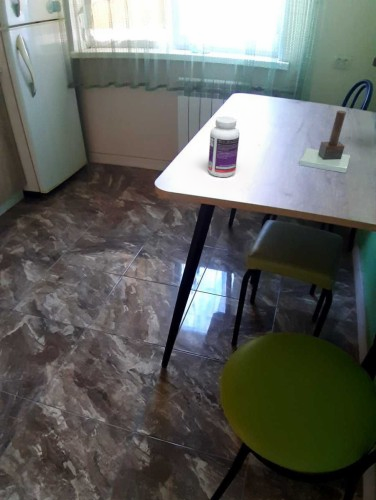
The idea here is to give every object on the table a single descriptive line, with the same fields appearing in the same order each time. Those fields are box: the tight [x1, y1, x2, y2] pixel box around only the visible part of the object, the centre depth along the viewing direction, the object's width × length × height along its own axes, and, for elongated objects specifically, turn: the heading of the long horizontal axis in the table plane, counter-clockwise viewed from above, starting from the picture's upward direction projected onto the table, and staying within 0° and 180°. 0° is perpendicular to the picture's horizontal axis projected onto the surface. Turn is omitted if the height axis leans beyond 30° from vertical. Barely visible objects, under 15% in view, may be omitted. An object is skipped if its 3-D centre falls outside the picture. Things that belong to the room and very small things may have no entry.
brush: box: [318, 110, 347, 160], centre depth 124 cm, size 6×4×13 cm, turn 100°
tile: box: [299, 147, 351, 174], centre depth 129 cm, size 14×12×2 cm
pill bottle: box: [207, 116, 240, 178], centre depth 115 cm, size 8×8×14 cm
